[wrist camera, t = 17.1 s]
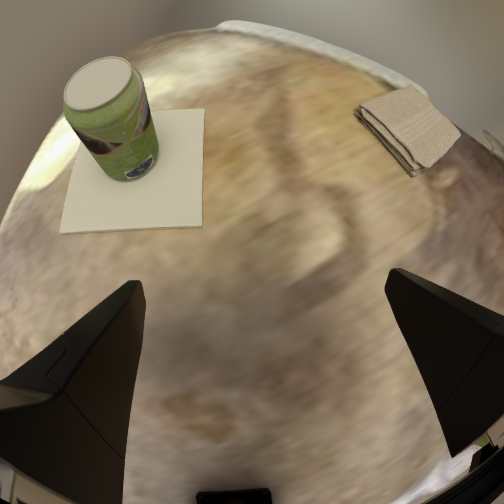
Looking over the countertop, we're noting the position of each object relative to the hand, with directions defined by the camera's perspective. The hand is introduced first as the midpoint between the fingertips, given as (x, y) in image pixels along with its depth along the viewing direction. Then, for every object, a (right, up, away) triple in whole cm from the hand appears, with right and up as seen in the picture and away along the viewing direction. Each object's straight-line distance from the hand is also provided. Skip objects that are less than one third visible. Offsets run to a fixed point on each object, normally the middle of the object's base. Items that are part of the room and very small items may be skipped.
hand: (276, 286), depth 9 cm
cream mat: (-12, +10, +16) cm, 22 cm away
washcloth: (+22, +19, +23) cm, 37 cm away
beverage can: (-12, +10, +15) cm, 22 cm away
